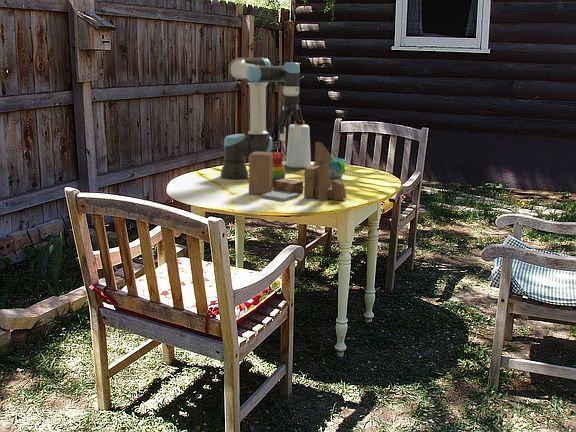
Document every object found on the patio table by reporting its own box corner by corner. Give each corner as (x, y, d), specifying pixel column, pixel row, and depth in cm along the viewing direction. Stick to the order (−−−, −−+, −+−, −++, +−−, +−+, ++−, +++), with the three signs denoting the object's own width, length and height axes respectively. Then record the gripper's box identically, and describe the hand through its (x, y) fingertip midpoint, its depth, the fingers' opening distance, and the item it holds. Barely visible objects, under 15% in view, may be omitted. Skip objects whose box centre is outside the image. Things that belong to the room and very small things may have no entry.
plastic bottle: (311, 168, 404) (312, 121, 398) (286, 167, 404) (287, 121, 397) (309, 164, 419) (311, 119, 412) (285, 163, 419) (286, 118, 412)
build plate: (261, 197, 321) (261, 194, 321) (276, 193, 332) (276, 190, 331) (284, 201, 314) (284, 198, 314) (298, 196, 325) (298, 193, 325)
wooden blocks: (339, 204, 311) (341, 144, 305) (299, 199, 319) (301, 141, 312) (355, 194, 333) (358, 138, 326) (317, 190, 341) (319, 135, 334)
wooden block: (268, 195, 326) (268, 155, 321) (248, 194, 328) (248, 153, 323) (272, 191, 335) (273, 152, 330) (253, 190, 337) (253, 151, 332)
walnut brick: (274, 192, 335) (274, 180, 333) (283, 190, 341) (283, 178, 340) (293, 195, 328) (293, 183, 327) (302, 193, 334) (303, 181, 333)
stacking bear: (289, 185, 353) (290, 151, 349) (282, 188, 344) (283, 154, 339) (270, 183, 356) (270, 150, 352) (263, 186, 347) (263, 152, 343)
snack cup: (350, 179, 373) (350, 161, 371) (333, 180, 369) (333, 162, 367) (337, 174, 387) (338, 156, 385) (320, 175, 383) (321, 157, 381)
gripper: (283, 96, 311) (282, 142, 316) (311, 94, 331) (309, 137, 336) (270, 95, 315) (269, 140, 320) (298, 93, 335) (297, 136, 340)
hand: (290, 139), depth 328 cm, fingers open, 13 cm apart
